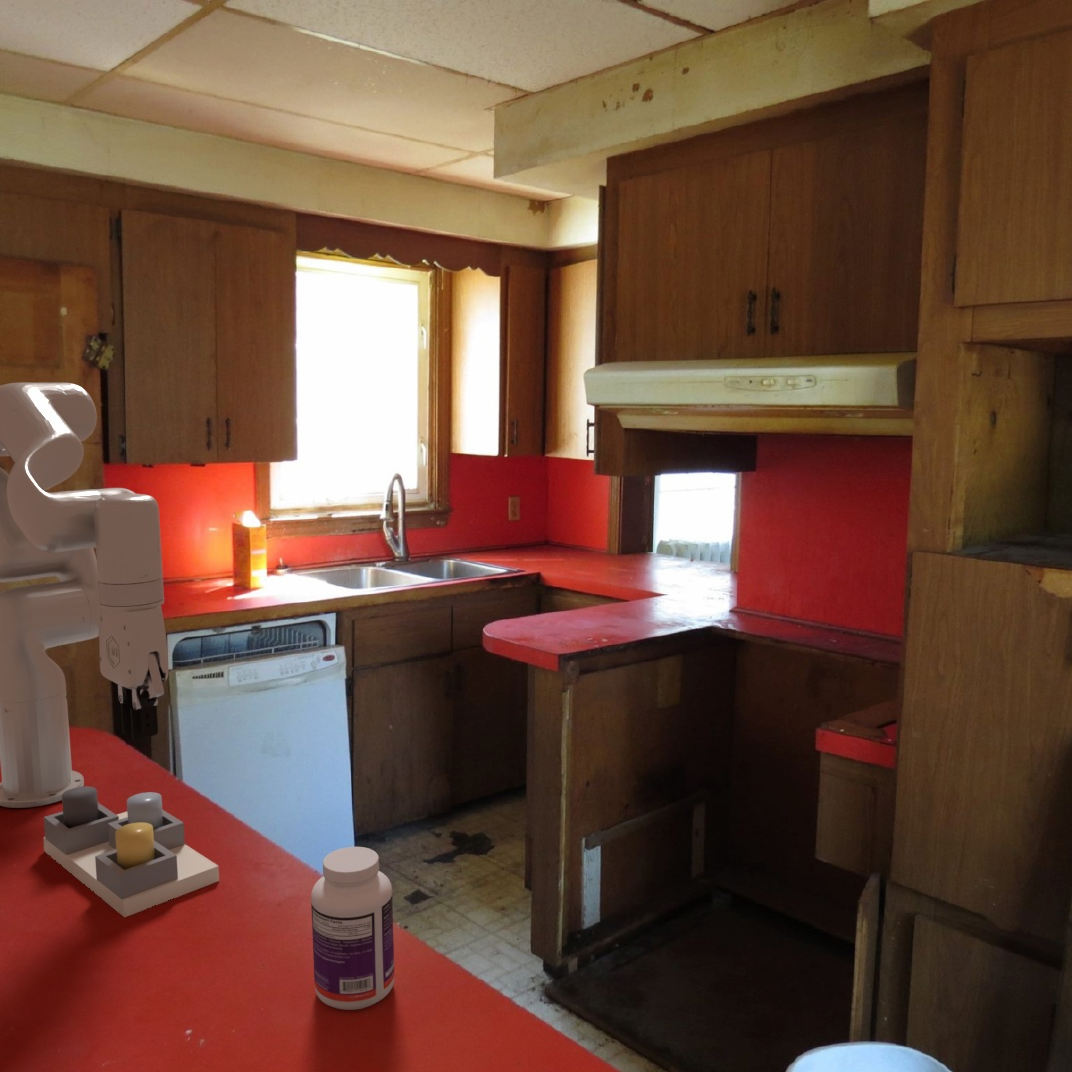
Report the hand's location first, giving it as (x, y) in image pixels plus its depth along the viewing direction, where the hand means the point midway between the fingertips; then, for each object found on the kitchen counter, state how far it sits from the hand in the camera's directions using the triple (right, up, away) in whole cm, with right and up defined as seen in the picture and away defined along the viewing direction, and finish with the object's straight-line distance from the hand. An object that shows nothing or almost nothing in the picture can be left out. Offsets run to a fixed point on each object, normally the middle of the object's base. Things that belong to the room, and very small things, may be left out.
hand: (140, 733), depth 128 cm
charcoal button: (-9, -12, +4) cm, 16 cm away
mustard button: (+2, -14, -7) cm, 16 cm away
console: (-2, -17, +1) cm, 17 cm away
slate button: (0, -13, +2) cm, 13 cm away
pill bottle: (+32, -21, -26) cm, 46 cm away
